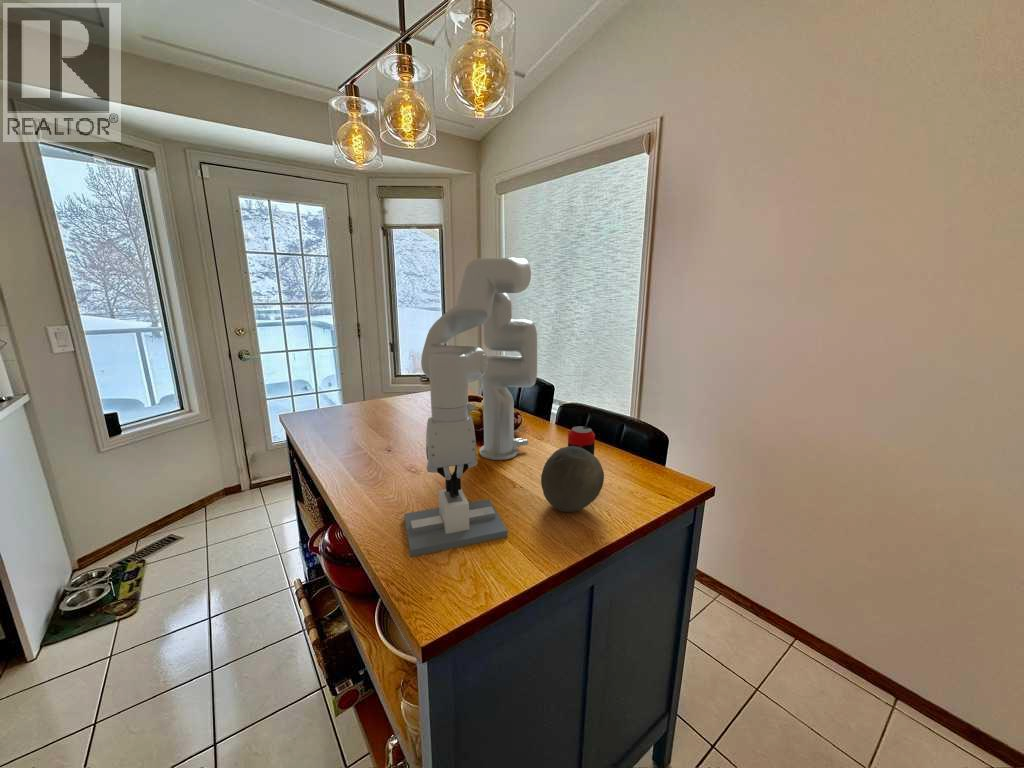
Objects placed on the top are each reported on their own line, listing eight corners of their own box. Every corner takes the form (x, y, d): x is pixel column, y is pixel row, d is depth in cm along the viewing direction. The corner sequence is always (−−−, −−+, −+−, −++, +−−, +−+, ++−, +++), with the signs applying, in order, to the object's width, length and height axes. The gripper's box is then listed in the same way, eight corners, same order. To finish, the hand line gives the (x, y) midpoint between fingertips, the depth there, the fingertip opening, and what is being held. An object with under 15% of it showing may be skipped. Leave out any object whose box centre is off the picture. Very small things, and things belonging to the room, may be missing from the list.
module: (461, 510, 92) (460, 485, 91) (469, 529, 85) (468, 502, 83) (439, 514, 90) (438, 489, 89) (445, 534, 83) (444, 506, 82)
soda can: (598, 468, 118) (600, 429, 115) (584, 476, 112) (585, 436, 110) (576, 460, 123) (578, 423, 120) (562, 468, 117) (563, 429, 115)
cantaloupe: (560, 530, 87) (561, 466, 84) (531, 500, 100) (531, 443, 96) (613, 516, 92) (617, 455, 89) (579, 489, 105) (581, 435, 102)
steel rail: (491, 511, 92) (491, 506, 92) (495, 517, 89) (495, 512, 89) (411, 525, 86) (410, 520, 86) (412, 533, 83) (412, 528, 83)
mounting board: (489, 504, 98) (489, 498, 97) (507, 536, 85) (507, 530, 84) (404, 519, 91) (404, 513, 91) (410, 557, 78) (410, 550, 78)
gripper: (480, 403, 88) (482, 480, 92) (410, 410, 83) (416, 491, 87) (490, 413, 81) (491, 495, 85) (414, 421, 76) (420, 508, 80)
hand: (453, 493), depth 86 cm, fingers closed
